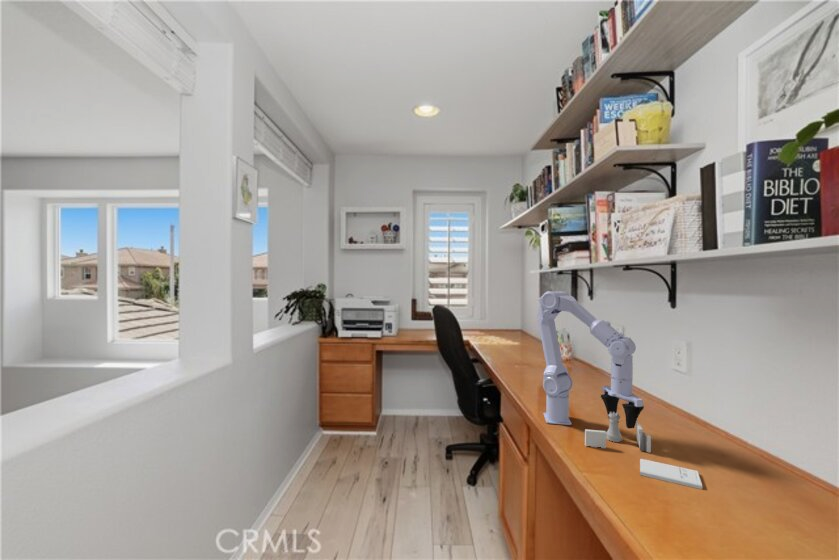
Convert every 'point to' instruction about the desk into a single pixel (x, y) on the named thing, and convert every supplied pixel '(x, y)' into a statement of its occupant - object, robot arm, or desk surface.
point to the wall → (599, 439)
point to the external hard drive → (670, 473)
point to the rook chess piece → (614, 428)
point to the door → (640, 436)
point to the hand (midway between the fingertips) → (621, 422)
